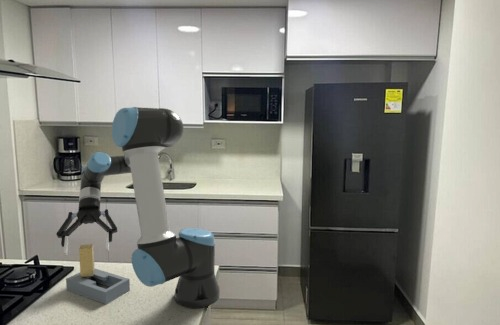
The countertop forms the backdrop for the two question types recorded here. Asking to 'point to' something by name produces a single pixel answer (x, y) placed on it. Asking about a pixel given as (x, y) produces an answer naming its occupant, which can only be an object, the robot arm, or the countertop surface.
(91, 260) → the peg
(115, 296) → the keyhole block
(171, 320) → the countertop surface
